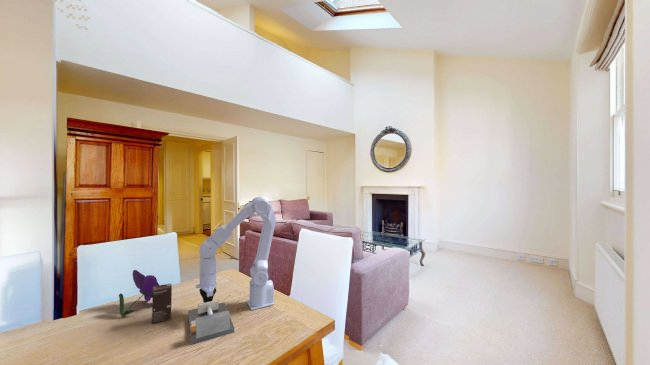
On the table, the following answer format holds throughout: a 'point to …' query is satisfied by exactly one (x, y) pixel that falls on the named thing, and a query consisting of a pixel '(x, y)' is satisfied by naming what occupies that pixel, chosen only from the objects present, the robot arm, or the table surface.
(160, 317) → the box
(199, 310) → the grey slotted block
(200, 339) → the sloped base with peg
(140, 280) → the flower
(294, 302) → the table surface
